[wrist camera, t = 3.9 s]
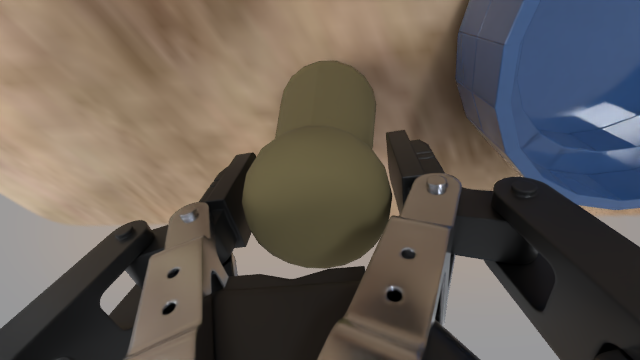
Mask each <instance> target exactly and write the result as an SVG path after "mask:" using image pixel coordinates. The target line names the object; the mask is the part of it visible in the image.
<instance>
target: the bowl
mask: <svg viewBox="0 0 640 360" xmlns="http://www.w3.org/2000/svg"><path fill="white" fill-rule="evenodd" d="M455 79H456V83H457V87H458V90H459V94H460V97H461V100H462V104H463V107H464V111H465V114H466V116H467V118H468V119H469V120H470V122H471V123H472V124H473V125H474V126H475V128H476V129H477V130H478V131H479V133H480V134H481V135H482V136H483V137H484V139H485V140H486V141H487V142H488V143H489V144H490V145H491V146H492V147H493V148H494V149H495V150H496V151H497V152H498V153H499V154H500V155H501V156H502V157H503V158H504V159H505V160H506V161H507V162H508V163H509V164H510V165H511V166H512V167H513V168H514V169H515V170H516V171H517V172H518V173H519V174H520V175H521V176H522V177H526V178H531V179H535V180H538V181H541V182H543V183H545V184H547V185H549V186H550V187H552V188H553V189H555V190H556V191H557V192H559V193H560V194H562V195H563V196H565V197H566V198H568V199H569V200H571V201H572V202H574V203H575V204H577V205H581V206H589V207H596V208H603V209H611V210H623V209H633V208H640V0H469V3H468V6H467V9H466V11H465V14H464V17H463V20H462V23H461V26H460V29H459V32H458V44H457V61H456V77H455Z"/></svg>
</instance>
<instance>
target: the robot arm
mask: <svg viewBox="0 0 640 360" xmlns="http://www.w3.org/2000/svg"><path fill="white" fill-rule="evenodd" d="M386 140H387V154H388V167H389V175H390V180H391V184H392V187H393V191H394V195H395V199H396V202H397V206H398V210H399V213H400V215H399V216H391V217H390V219H389V221H388V223H387V225H386V227H385V229H384V232H383V234H382V236H381V238H380V240H379V243H378V245H377V247H376V249H375V251H374V253H373V256H372V258H371V260H370V262H369V264H368V267H367V269H366V271H365V267H364V266H359V267H347V268H334V269H327V270H323V271H320V272H317V273H313V274H310V275H307V276H303V277H300V278H296V279H286V278H280V277H274V276H268V275H262V274H256V275H243V276H238V274H237V267H236V260H235V257H234V255H233V253H232V251H233V249H234V248H239V247H246V245H247V243H248V240H249V238H250V235H251V230H250V229H249V226H248V224H247V222H246V219H245V214H244V210H243V205H242V197H243V189H244V184H245V178H246V173H247V172H248V170H249V168H250V167H251V165H252V163H253V162H254V160H255V159H256V155H255V154H254V153H246V154H240V155H236V156H235V158H234V159H233V161H232V162H231V164H230V165H229V166H228V167H226V168H225V169H224V170H223V171H221V172H220V173H219V174H218V175H217V177H216V178H215V180H214V182H212V184H211V185H210V187H209V188H208V190H207V191H206V192H205V194H204V195H203V197H202V198H201V199H200V201H199V202H196V203H192V204H189V205H186V206H184V207H182V208H181V209H179V210H178V211H176V212H175V213H174V214H173V215H172V216H171V218H170V220H169V225H166V226H163V227H160V228H157V229H153V230H151V229H150V227H149V226H148V224H147V223H146V222H145V221H143V220H138V221H133V222H130V223H127V224H125V225H123V226H121V227H119V228H118V229H116V230H115V231H113V232H112V233H111V234H110V235H109V236H107V237H106V238H105V239H104V240H103V241H102V242H100V243H99V244H98V245H97V246H96V247H95V248H93V249H92V250H91V251H90V252H89V253H88V254H87V255H85V256H84V257H83V258H82V259H81V260H80V261H78V262H77V263H76V264H75V265H74V266H73V267H72V268H70V269H69V270H68V271H67V272H66V273H65V274H63V275H62V276H61V277H60V278H59V279H58V280H57V281H55V282H54V283H53V284H52V285H51V286H50V287H48V288H47V289H46V290H45V291H44V292H43V293H42V294H40V295H39V296H38V297H37V298H36V299H35V300H33V301H32V302H31V303H30V304H29V305H28V306H27V307H25V308H24V309H23V310H22V311H21V312H19V313H18V314H17V315H16V316H15V317H14V318H13V319H11V320H10V321H9V322H8V323H7V324H6V325H4V326H3V327H2V328H1V329H0V360H480V359H479V358H478V357H477V356H476V355H474V354H473V353H472V352H471V351H470V350H469V349H468V348H466V347H465V346H464V345H463V344H462V343H461V342H460V341H458V339H456V338H455V337H454V336H453V335H452V334H451V333H450V332H449V331H447V330H446V329H445V328H444V323H445V316H446V308H447V300H448V294H449V288H450V283H451V277H452V271H453V266H454V260H455V255H459V256H465V257H471V258H478V259H484V261H485V263H486V264H487V266H488V267H489V268H490V270H491V271H492V272H493V273H494V275H495V276H496V277H497V279H498V280H499V281H500V283H501V284H502V285H503V286H504V288H505V289H506V290H507V292H508V293H509V294H510V295H511V297H512V298H513V299H514V301H515V302H516V303H517V304H518V305H519V307H520V308H521V310H522V311H523V312H524V313H525V315H526V316H527V317H528V319H529V320H530V321H531V323H532V324H533V325H534V326H535V327H536V329H537V330H538V332H539V333H540V334H541V335H542V337H543V338H544V339H545V341H546V342H547V343H548V345H549V346H550V347H551V348H552V350H553V351H554V352H555V353H556V355H557V356H558V357H559V359H560V360H640V247H639V246H637V245H636V244H634V243H633V242H631V241H630V240H628V239H627V238H625V237H624V236H622V235H621V234H620V233H618V232H616V231H615V230H614V229H612V228H610V227H609V226H608V225H606V224H605V223H603V222H601V221H600V220H599V219H597V218H596V217H594V216H593V215H591V214H590V213H589V212H587V211H586V210H584V209H583V208H581V207H580V206H578V205H577V204H575V203H574V202H572V201H571V200H569V199H568V198H566V197H565V196H563V195H562V194H560V193H559V192H557V191H556V190H555V189H553V188H552V187H550V186H549V185H547V184H545V183H543V182H541V181H538V180H535V179H531V178H526V177H509V178H504V179H502V180H499V181H498V182H497V183H496V184H495V185H494V189H493V191H483V190H472V189H466V188H463V187H462V185H461V182H460V181H459V180H458V179H457V178H455V177H454V176H452V175H449V174H445V172H444V171H443V169H442V167H441V166H440V164H439V162H438V160H437V159H436V158H435V155H434V154H433V152H432V150H431V149H430V147H429V145H428V144H426V143H425V142H423V141H421V140H412V141H410V140H409V138H408V136H407V134H406V132H405V130H401V131H394V132H387V133H386ZM123 271H126V272H127V273H128V274H129V275H130V277H131V278H132V279H133V280H134V281H135V283H136V285H135V286H134V287H133V289H132V290H131V291H130V292H129V293H128V295H126V296H125V297H124V299H123V300H122V301H121V302H120V303H119V304H118V305H117V307H116V308H115V309H114V310H113V311H112V312H111V314H110V315H109V316H108V315H107V314H106V313H105V312H104V311H103V310H102V309H101V308H100V298H101V296H102V294H103V293H104V292H105V290H106V289H107V288H108V287H109V286H110V285H111V284H112V283H113V282H114V281H115V280H116V279H117V278H118V277H119V276H120V275H121V274H122V273H123Z"/></svg>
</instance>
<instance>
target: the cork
mask: <svg viewBox="0 0 640 360" xmlns="http://www.w3.org/2000/svg"><path fill="white" fill-rule="evenodd" d="M375 112H376V101H375V97H374V93H373V89H372V88H371V86H370V85H369V83H368V81H367V80H366V78H365V77H364V76H363V75H362V74H361V73H359V72H358V71H357V70H356V69H354V68H353V67H352V66H349V65H346V64H343V63H340V62H337V61H319V62H316V63H313V64H310V65H308V66H305V67H303V68H302V69H301V70H300V71H298V72H297V73H296V74H295V75H293V76H292V78H291V79H290V81H289V82H288V84H287V86H286V87H285V89H284V92H283V97H282V101H281V106H280V112H279V118H278V124H277V130H276V137H275V139H274V140H273V141H272V142H270V143H269V144H268V145H266V146H265V147H263V148H262V149H261V151H260V152H259V154H258V156H257V157H256V159H255V160H254V162H253V163H252V165H251V167H250V168H249V170H248V172H247V173H246V178H245V184H244V189H243V197H242V205H243V210H244V214H245V219H246V222H247V224H248V226H249V229H250V230H251V232H252V233H253V235H254V236H255V238H256V240H257V241H258V243H259V244H260V245H261V246H262V247H264V248H265V249H266V250H267V251H268V252H269V253H271V254H272V255H273V256H276V257H278V258H279V259H282V260H283V261H285V262H288V263H290V264H294V265H298V266H302V267H306V268H331V267H336V266H342V265H345V264H348V263H350V262H352V261H354V260H357V259H359V258H361V257H362V256H363V255H364V254H366V253H367V252H368V251H369V250H370V249H371V248H372V247H374V245H375V244H376V243H377V242H378V240H379V239H380V237H381V235H382V234H383V232H384V229H385V227H386V225H387V223H388V221H389V215H390V208H391V201H392V192H391V188H390V185H389V181H388V177H387V173H386V170H385V167H384V165H383V164H382V163H381V161H380V160H379V158H378V157H377V156H376V154H375V153H374V152H373V150H372V147H373V136H374V124H375Z"/></svg>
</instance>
